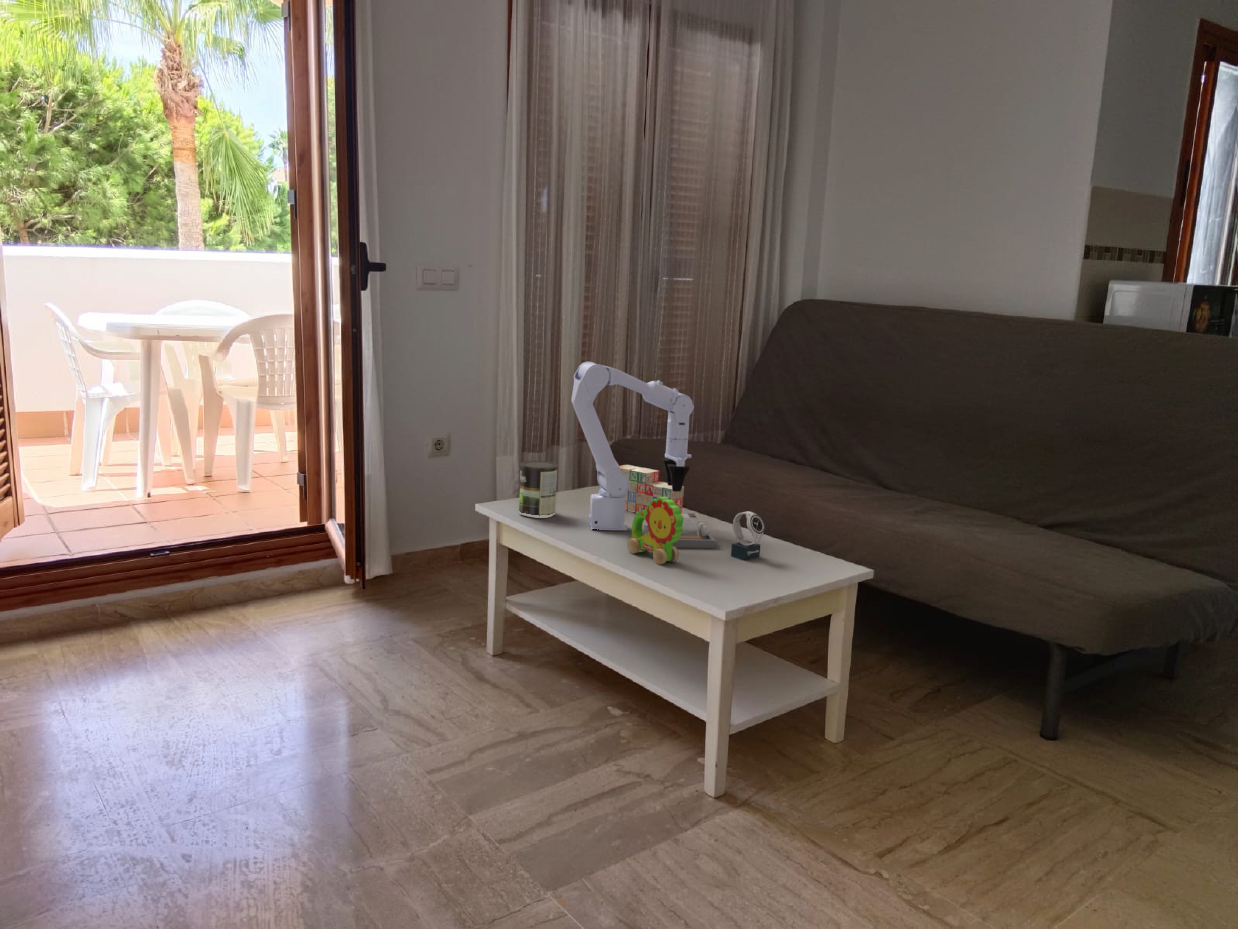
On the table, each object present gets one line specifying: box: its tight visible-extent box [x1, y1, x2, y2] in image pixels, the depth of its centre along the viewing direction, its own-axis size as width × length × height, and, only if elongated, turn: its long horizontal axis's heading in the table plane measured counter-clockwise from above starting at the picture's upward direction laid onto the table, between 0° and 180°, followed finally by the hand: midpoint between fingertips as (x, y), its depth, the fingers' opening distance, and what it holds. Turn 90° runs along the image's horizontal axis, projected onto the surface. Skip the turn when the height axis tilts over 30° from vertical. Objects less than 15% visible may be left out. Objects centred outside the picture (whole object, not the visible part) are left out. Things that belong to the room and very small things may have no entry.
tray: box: [642, 522, 716, 549], centre depth 233 cm, size 16×14×4 cm
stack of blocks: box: [619, 464, 685, 514], centre depth 261 cm, size 21×6×12 cm, turn 49°
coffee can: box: [518, 460, 559, 516], centre depth 252 cm, size 10×10×14 cm
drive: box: [679, 512, 700, 537], centre depth 233 cm, size 9×4×5 cm, turn 97°
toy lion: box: [626, 497, 683, 566], centre depth 214 cm, size 16×5×15 cm, turn 38°
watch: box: [730, 510, 766, 561], centre depth 220 cm, size 6×8×11 cm
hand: (674, 488), depth 246 cm, fingers open, 7 cm apart
